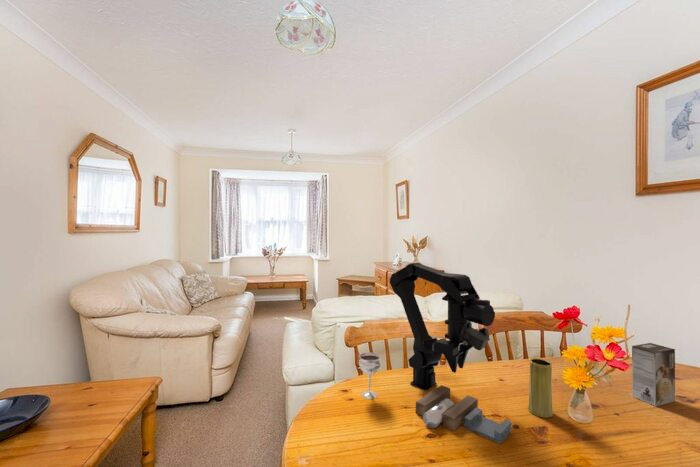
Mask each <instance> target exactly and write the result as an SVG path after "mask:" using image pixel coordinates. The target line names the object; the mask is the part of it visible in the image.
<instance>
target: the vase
mask: <svg viewBox="0 0 700 467" xmlns="http://www.w3.org/2000/svg"><path fill="white" fill-rule="evenodd" d="M529 365H530V366H529V386H528V388H529V389H528V406H527V410H528V411H529V412H530V413H531V414H532V415H534V416H537V417H538V418H539V417H540V418H545V419H549V418H552V417H553V416H554V411H553V395H552V394H553V392H552V389H553V387H552V362H550V361H548V360H546V359H542V358H531V359H530V360H529Z"/></svg>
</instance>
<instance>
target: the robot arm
mask: <svg viewBox="0 0 700 467" xmlns="http://www.w3.org/2000/svg"><path fill="white" fill-rule="evenodd" d="M419 278H420V279H422V280H425V281H428V282H430V283H432V284H434V285H437V286H438V287H439V288H440V290H441V291H443V292H444V293H446V294H445V295H444V296H443V297H442V298H441V300H442V301H444V302H445V301H446V302H447V319H445V320H444V324H445V325H447V333H445V334H444V338H445V339H444V338H439V339H437V337H432V336H431V335H430V334H429V331H428V329H427V327H426V323H425V320H424V317H423V316H422V312H421V310H420V306H419V304H418V302H417V299H416V297H415V290H416V283H415V282H416V281H418V280H419ZM389 284H390V286H391V289H392V291H393V293H394V294H396V296H397V297H398V298H400V301H401V304H402V306H403V309H404V310H403V311H404V312H405V315H406V318H407V321H408V324H409V327H410V329H411V332H412V335H413V345H412V350H413V354H412V356H410V358H408V365H409V367H410V368H412V381H410V383H409V384H410V385H412V386H414V387H416V388H419V389H421V390H424V391H425V392H426V391H428V390H430V389H432V388H434V387H435V386H437V385H438V384H437V382H436V372H435V367H437V366H438V365H439V363H440V361H441V358H442V355H443V356H444V358H445V359H446V362H447V364H448V367H449V369H450V370H451V372H452V373H455V374H456V373H457V370H458V368H460V369H463V368H464V365H465V361H466V359H467V356H468V353H469V351H470V350H471V349H472V348H474V349H475V350H477V351H481V350H482V349H485V348H486V346H487V343H488V342H490V340H491V339H490V335H489V334H490V333H489V330H488V328H486V327H490V326H491V325H493V323H494V321H495V317H496V316H495V315H496V311H495V309H494V307H493V306H492V305H491V301H490V299H480V298H481V297H480V295H479V294H478V292H477V291H476V289H475V287H474V285H473V283H472V280H471V278H470V277H469V276H468V275H466V274H461V273H460V274H459V273H448V272H444V271H441V270H439V269H435V268H432V267H430V266H427V265H424V264H422V263H421V262H411V263H408V264H407V265H405V267H403V268H401V269H399V270H397V271H396V272H394V273H392V274H391V275H390V278H389ZM473 323H474V324H478V325H480V326H484V327H481V328H480V329H478V328H474V327H473V325H472V324H473ZM457 367H458V368H457Z"/></svg>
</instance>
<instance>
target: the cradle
mask: <svg viewBox="0 0 700 467" xmlns="http://www.w3.org/2000/svg"><path fill="white" fill-rule="evenodd" d="M512 423H513V422H512V421H511V420H509V419H504V420H502V422H501V423H500V422H497V421H494V420H492V419H489V418H486V417H485V416H483V409H481V408H479V407H478V408H477V407H476V408H475V409H474V410H473V411H472V412H470V413H469V414H468V415H467V416H466V417H465V422H464V423H463V424H464V428H465V429H467V430H469V431H471V432H473V433H475V434H477V435H479V436H482V437H484V438H487V439H488V440H491V441H492V442H495V443H497V444H498V445H499V444H500V445H501V444H502V443H503V442H504V441H505V440H506V439H507V438H508V436H509V435H510V434H511V433H512V428H513V425H512Z"/></svg>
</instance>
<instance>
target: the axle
mask: <svg viewBox="0 0 700 467" xmlns="http://www.w3.org/2000/svg"><path fill="white" fill-rule="evenodd" d="M454 405H455V403H454V401H452V400H451V398H450V399H447V398H446V399H444V400H442V401H441V402H440V403H438V404H437V405H435V406H434V407H432V408H431V409H430V410H428V411H427V412H425V413H424V415H423V416H422V420H423V423H424V424H425V426H426V427H428V428H430V429H432V430H434V429H435V428H437V426H439V425H441V424H443V414H444V413H445V412H447V411H448V410H449V409H450V408H452V407H453V406H454Z"/></svg>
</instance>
